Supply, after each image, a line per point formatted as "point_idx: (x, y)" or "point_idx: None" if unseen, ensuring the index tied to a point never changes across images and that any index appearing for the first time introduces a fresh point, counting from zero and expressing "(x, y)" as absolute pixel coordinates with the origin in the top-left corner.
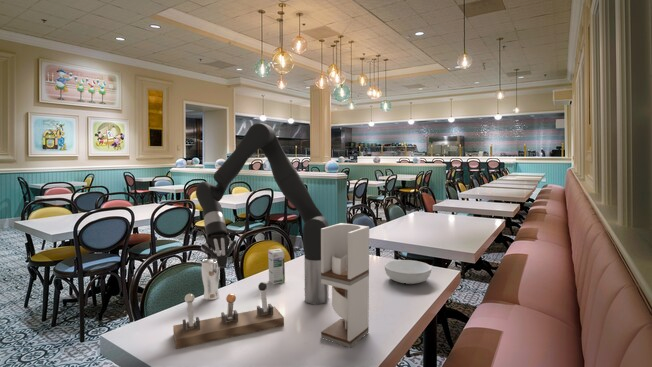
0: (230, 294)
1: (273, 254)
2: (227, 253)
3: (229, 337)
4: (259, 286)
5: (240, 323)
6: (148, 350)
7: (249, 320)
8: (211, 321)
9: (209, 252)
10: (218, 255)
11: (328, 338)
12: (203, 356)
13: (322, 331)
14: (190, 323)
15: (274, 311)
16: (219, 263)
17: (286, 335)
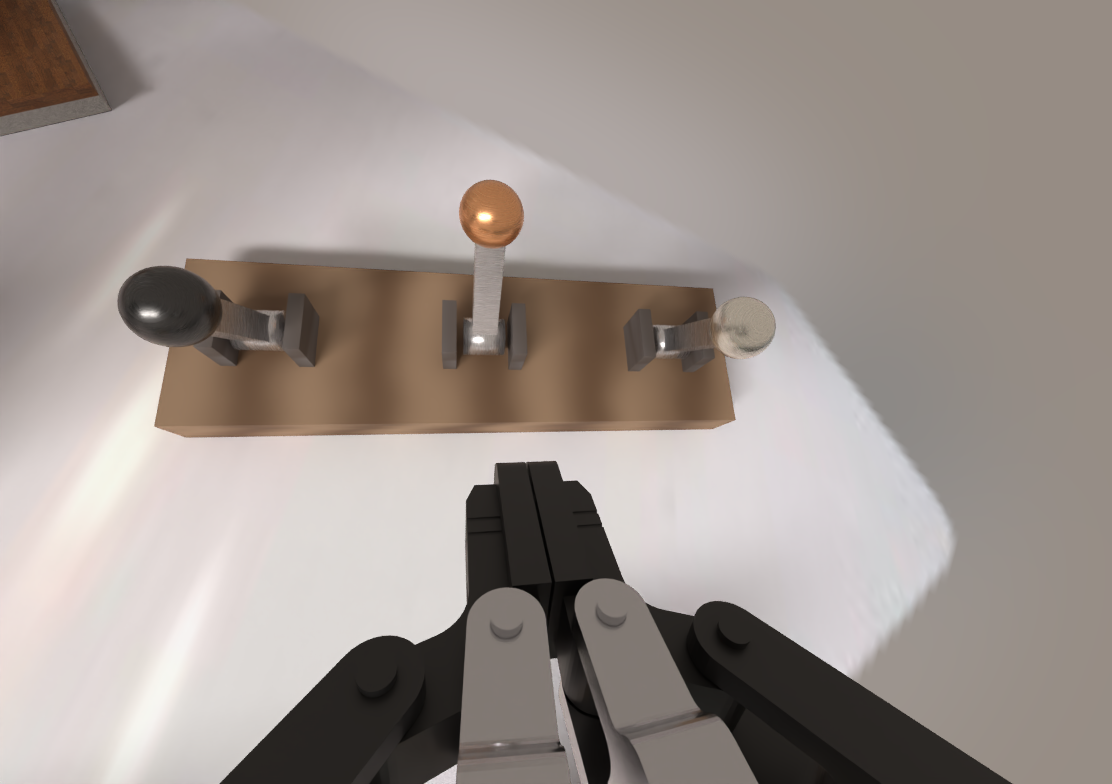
0: (498, 187)
1: None
2: (407, 646)
3: None
4: (208, 288)
5: (437, 299)
6: (780, 342)
7: (384, 309)
8: (568, 385)
9: (825, 666)
10: (612, 590)
11: (89, 72)
12: (604, 218)
13: (82, 81)
14: (675, 326)
15: (197, 353)
16: (571, 497)
17: (251, 201)
